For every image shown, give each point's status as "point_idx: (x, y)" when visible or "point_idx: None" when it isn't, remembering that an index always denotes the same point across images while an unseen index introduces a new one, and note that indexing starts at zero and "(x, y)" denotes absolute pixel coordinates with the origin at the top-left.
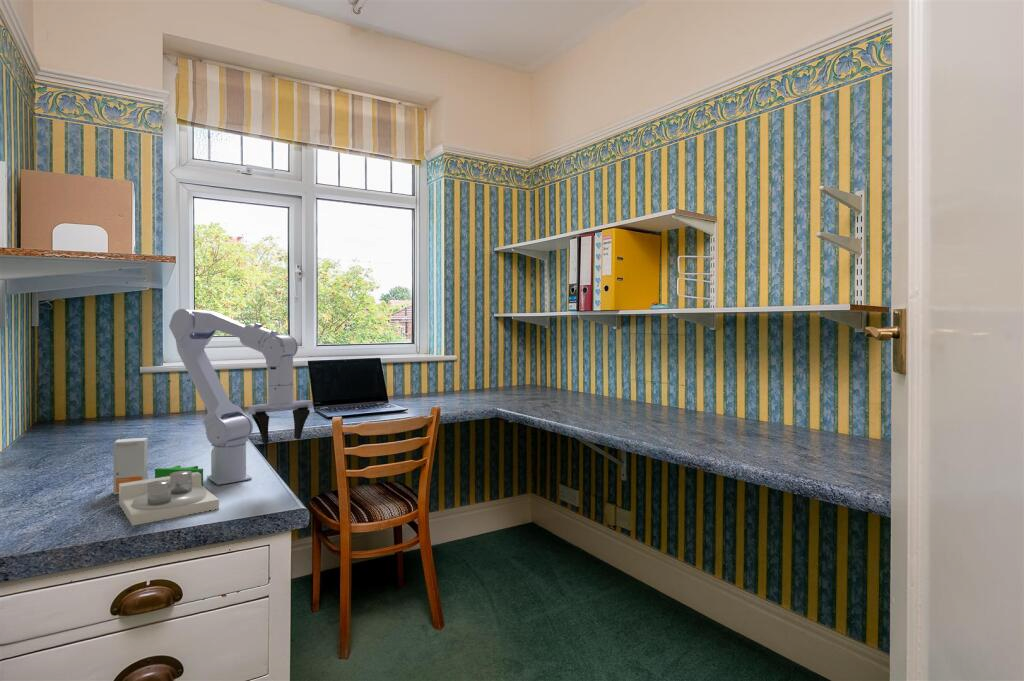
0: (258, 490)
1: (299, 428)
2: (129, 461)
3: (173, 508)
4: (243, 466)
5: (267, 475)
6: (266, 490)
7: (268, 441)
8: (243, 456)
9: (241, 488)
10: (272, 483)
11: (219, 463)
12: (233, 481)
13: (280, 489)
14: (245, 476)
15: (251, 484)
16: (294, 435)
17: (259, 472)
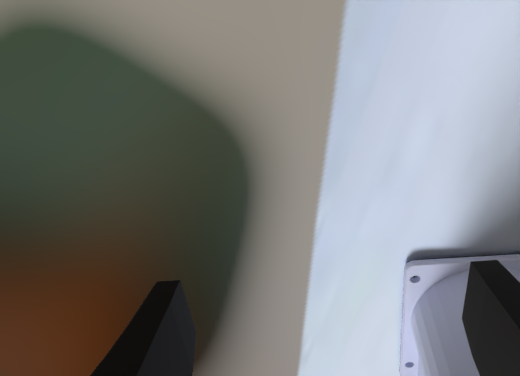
0: (460, 58)
1: (139, 361)
2: None
3: None
4: (454, 324)
5: (321, 289)
6: (426, 30)
7: (480, 271)
8: (469, 370)
9: (508, 148)
10: (348, 153)
11: None
12: (494, 257)
13: (354, 3)
14: (424, 293)
15: (438, 191)
16: (193, 358)
17: (334, 342)
